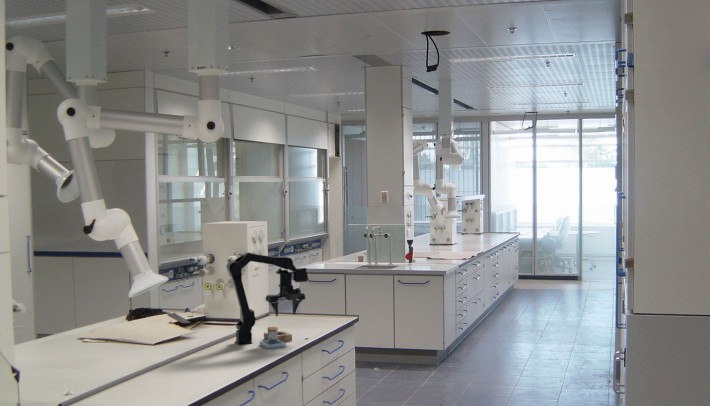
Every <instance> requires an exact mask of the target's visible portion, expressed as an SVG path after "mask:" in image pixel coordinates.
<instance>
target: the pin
mask: <svg viewBox="0 0 710 406" xmlns="http://www.w3.org/2000/svg"><path fill="white" fill-rule="evenodd" d="M278 329H279V327H277V326H268V327H267V329H266V330H267V333H268V344H269V345H270V344H277V331H278Z"/></svg>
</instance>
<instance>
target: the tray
mask: <svg viewBox="0 0 710 406" xmlns="http://www.w3.org/2000/svg"><path fill="white" fill-rule="evenodd" d="M286 343H287V342H282V341H280V340H277V344H270V345H269V344H268V340H261V341H259V346H261V347H262V348H265V349H267V350H271V349H272V350H273V349H280V348H286V345H287V344H286Z"/></svg>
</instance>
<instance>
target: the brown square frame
mask: <svg viewBox="0 0 710 406" xmlns="http://www.w3.org/2000/svg"><path fill="white" fill-rule="evenodd" d="M263 340H264V341H267V340H268V332H264V333H263ZM277 340H280V341H282V342H285V343H287V342H292V341H293V334H291V333H289V332H287V331H285V330H279V331H278V330H277Z"/></svg>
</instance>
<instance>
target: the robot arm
mask: <svg viewBox="0 0 710 406" xmlns="http://www.w3.org/2000/svg"><path fill="white" fill-rule="evenodd" d="M250 262H255V263H260V264H265V265H273V266H276V267H278V269H277V270H276V271H275V274H277V275H279V284H278V287H279V292H278V295H276V294H267V295H266V296H265V302H268V303H269V305H271V307H272V309H273V311H274V314H275V316H276V317H278V316H279V303H280V302H278V301H282V300H287V301H291V302H292V305H291V306H292V315H296V312H297V310H298V307H299V305H300V303H301V302H303V301H304V300H306V294H305V293H304V292H302V290H301V289H300V288H296V289H294V285H293V284H292V283H293V281H294V283H307V282H308V279H309V275H308V271H307V268H306V267H302V268H301V267H300V268H297V267H296V266H295V265H294V261H293V259H292V258H290V257H288V256H286V255H285V256H278V255H277V256H270V255H263V254H259V253H252V252H249V251H246V252H245V253H244V254H242V255H241V256H239V257H237V258H235V259H234V260H231V261H228V263H227V264H226V266H225V267H226V270H227V273H228V275H229V276H230V278H231V280H232V283H233V286H234V290H235V294H236V298H237V302H238V305H239V318H240V319H239V320H238V321H237V323H236V324H235V327H236V329H237V330H235V341H234V343H235V344H237V345H239V346H243V345H252V344H253V342H252V341H253V333H252V328H253V327H254V326H255V324H256V320H257V317H256V315H255V310H253V309H250V307H249V303H248V299H247V295H246V292H245V287H244V284H243V279H242V278H243V275H242V274H243V271H242V269H243V268H245V267H246V266H247V265H248V264H249V263H250Z"/></svg>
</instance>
